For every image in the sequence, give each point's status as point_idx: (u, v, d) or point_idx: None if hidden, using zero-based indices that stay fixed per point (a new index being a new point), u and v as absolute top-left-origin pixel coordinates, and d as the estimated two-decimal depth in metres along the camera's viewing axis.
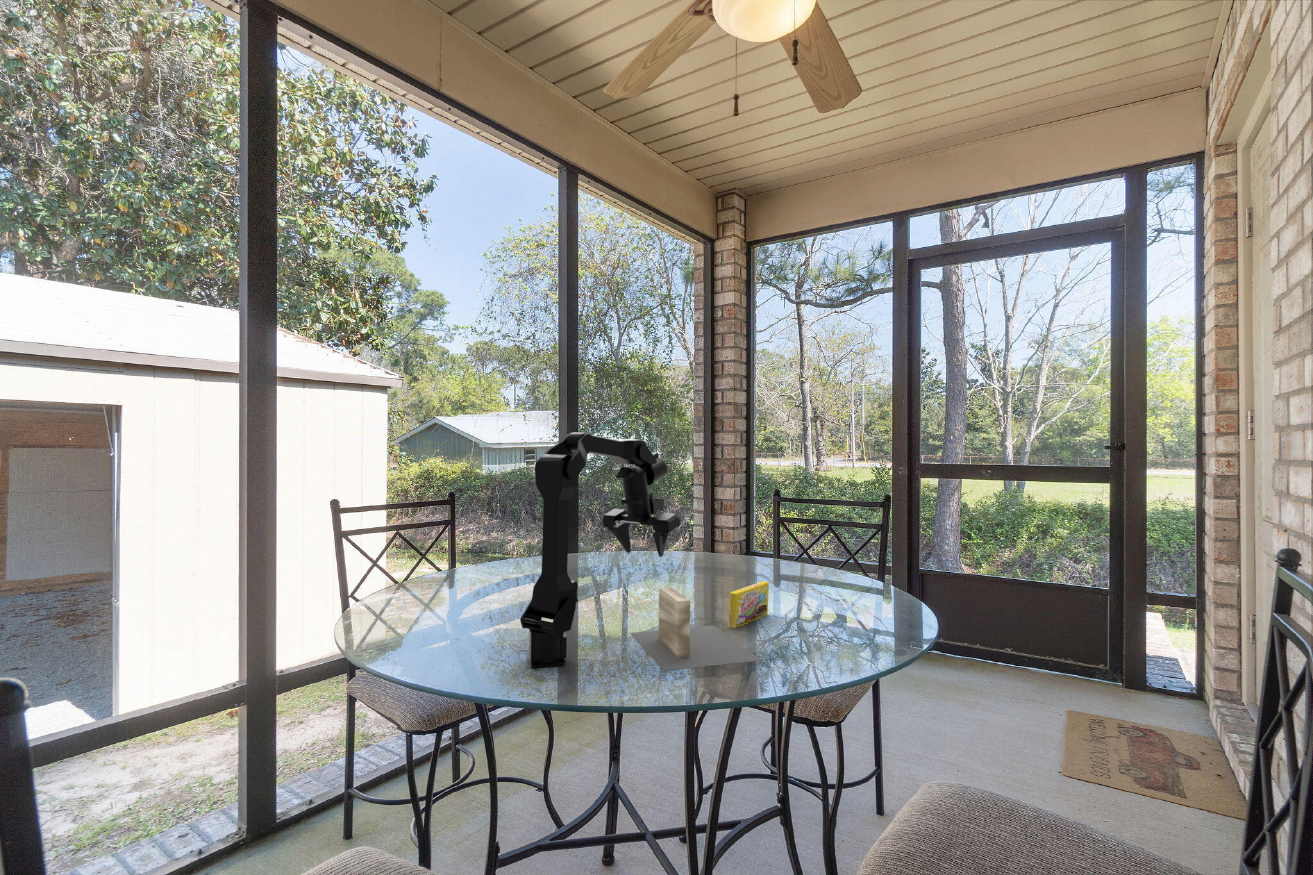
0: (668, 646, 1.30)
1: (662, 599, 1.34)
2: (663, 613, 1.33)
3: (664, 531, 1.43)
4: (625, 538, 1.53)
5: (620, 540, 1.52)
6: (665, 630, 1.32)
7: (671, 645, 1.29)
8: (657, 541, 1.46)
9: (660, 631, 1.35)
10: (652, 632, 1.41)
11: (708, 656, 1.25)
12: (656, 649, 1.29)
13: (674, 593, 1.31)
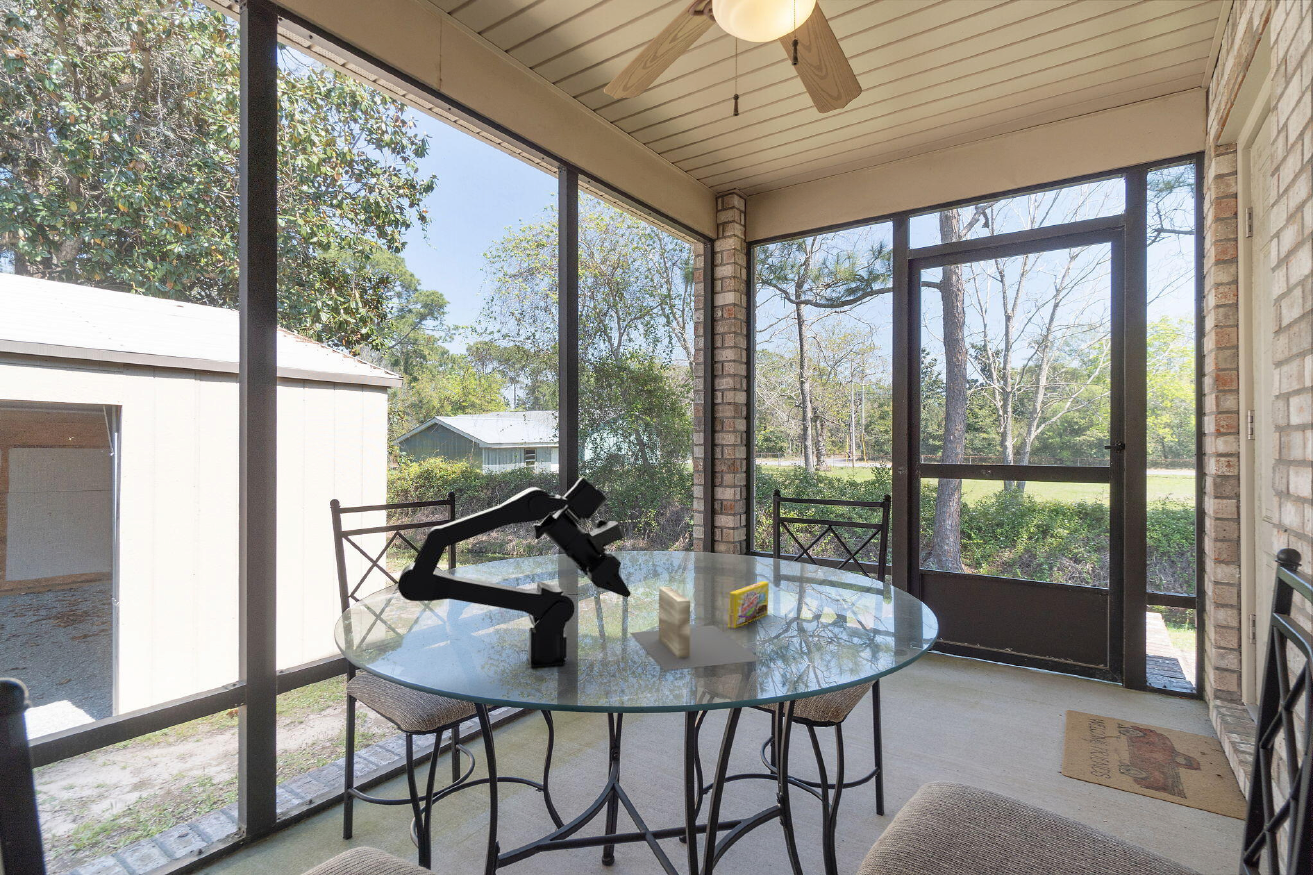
0: (668, 646, 1.30)
1: (662, 599, 1.34)
2: (663, 613, 1.33)
3: None
4: None
5: None
6: (665, 630, 1.32)
7: (671, 645, 1.29)
8: None
9: (660, 631, 1.35)
10: (652, 632, 1.41)
11: (708, 656, 1.25)
12: (656, 649, 1.29)
13: (674, 593, 1.31)
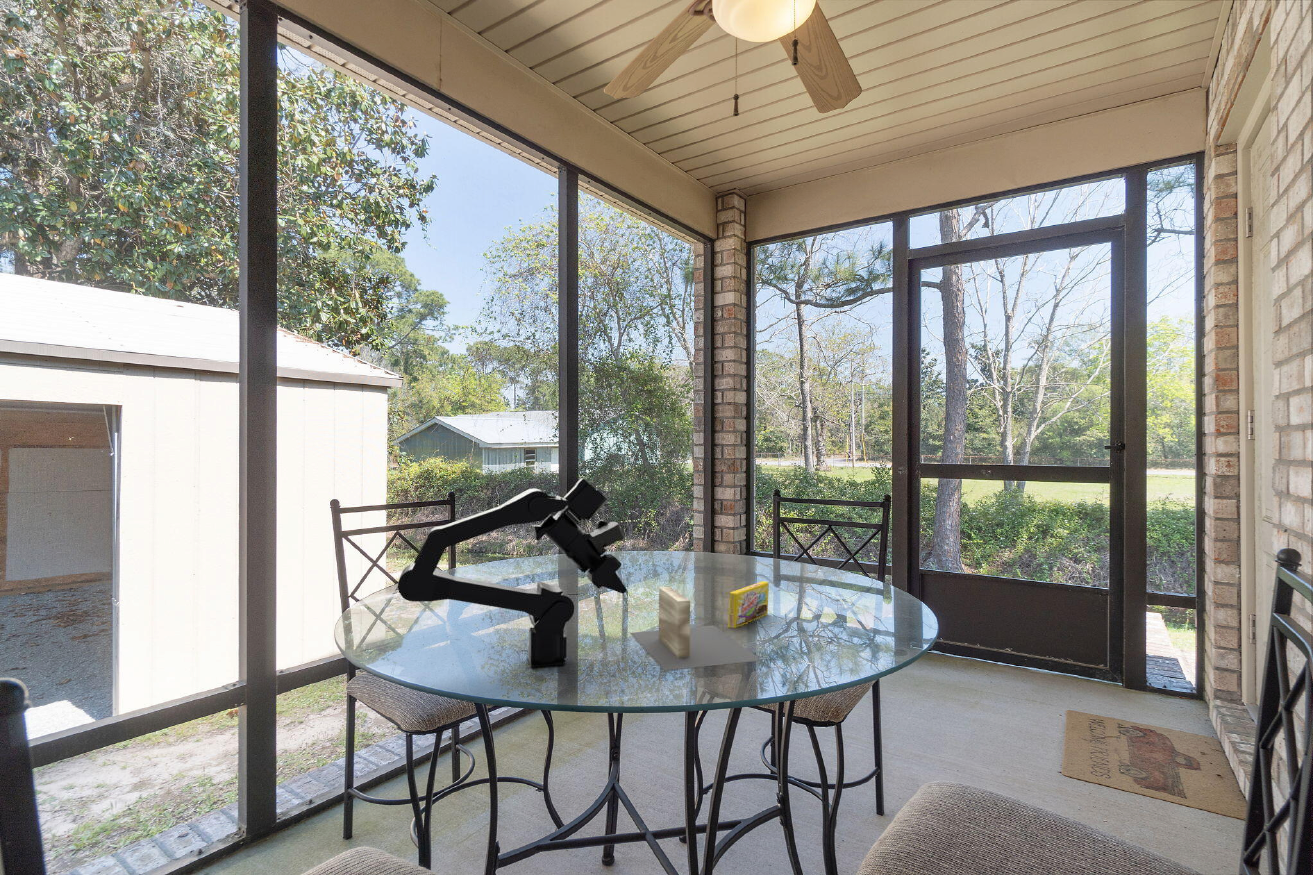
0: (668, 646, 1.30)
1: (662, 599, 1.34)
2: (663, 613, 1.33)
3: (596, 586, 1.17)
4: None
5: None
6: (665, 630, 1.32)
7: (671, 645, 1.29)
8: (602, 585, 1.25)
9: (660, 631, 1.35)
10: (652, 632, 1.41)
11: (708, 656, 1.25)
12: (656, 649, 1.29)
13: (674, 593, 1.31)
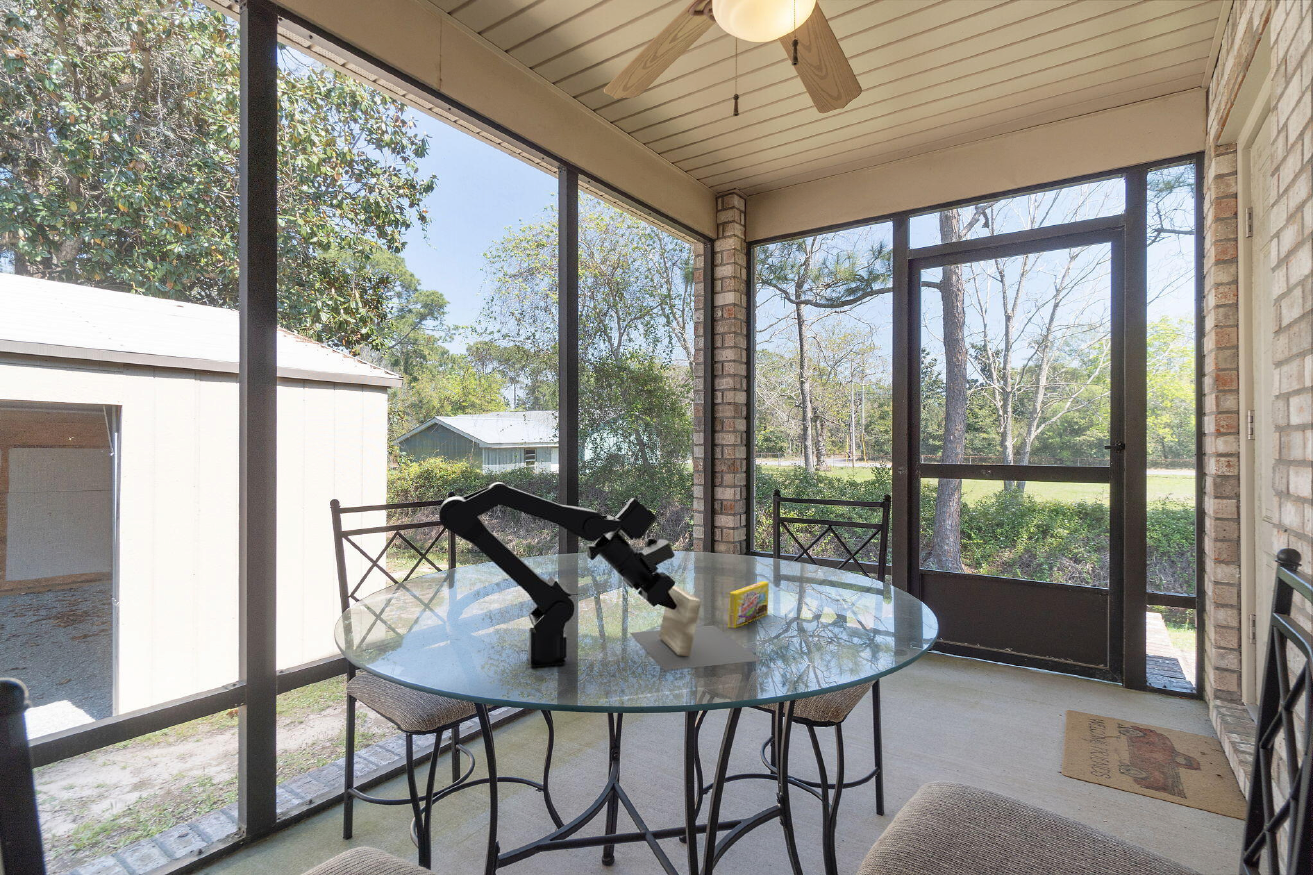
0: (669, 643, 1.30)
1: (671, 596, 1.34)
2: (669, 611, 1.34)
3: None
4: None
5: None
6: (668, 628, 1.32)
7: (672, 642, 1.29)
8: None
9: (662, 629, 1.35)
10: (652, 632, 1.41)
11: (708, 656, 1.25)
12: (656, 649, 1.29)
13: (685, 592, 1.32)
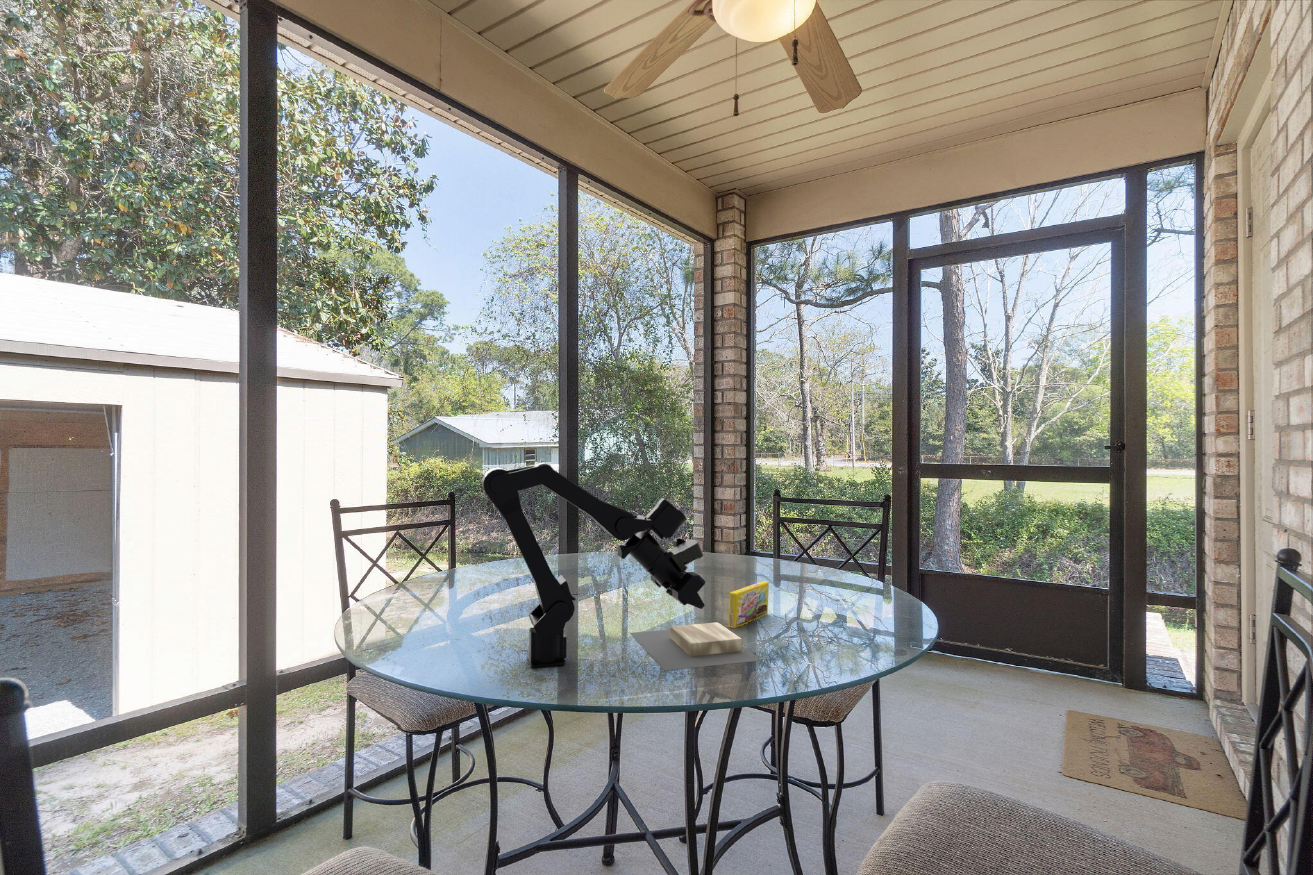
0: (682, 635, 1.31)
1: (714, 626, 1.37)
2: (702, 627, 1.36)
3: (682, 603, 1.22)
4: None
5: None
6: (690, 630, 1.34)
7: (688, 636, 1.30)
8: None
9: (680, 626, 1.37)
10: (652, 632, 1.41)
11: (708, 656, 1.25)
12: (656, 649, 1.29)
13: None
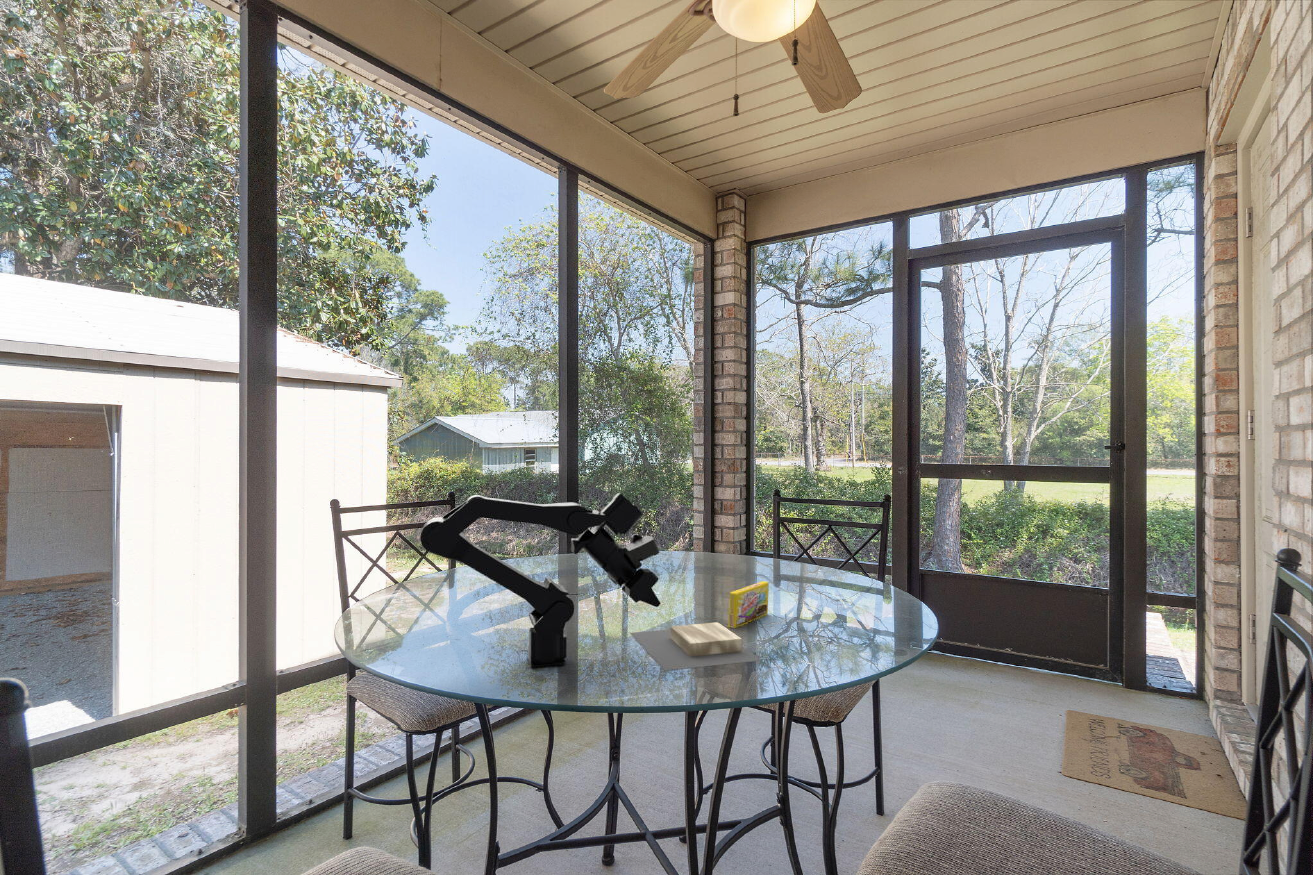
0: (682, 635, 1.31)
1: (714, 626, 1.37)
2: (702, 627, 1.36)
3: (634, 600, 1.19)
4: None
5: None
6: (690, 630, 1.34)
7: (688, 636, 1.30)
8: None
9: (680, 626, 1.37)
10: (652, 632, 1.41)
11: (708, 656, 1.25)
12: (656, 649, 1.29)
13: None
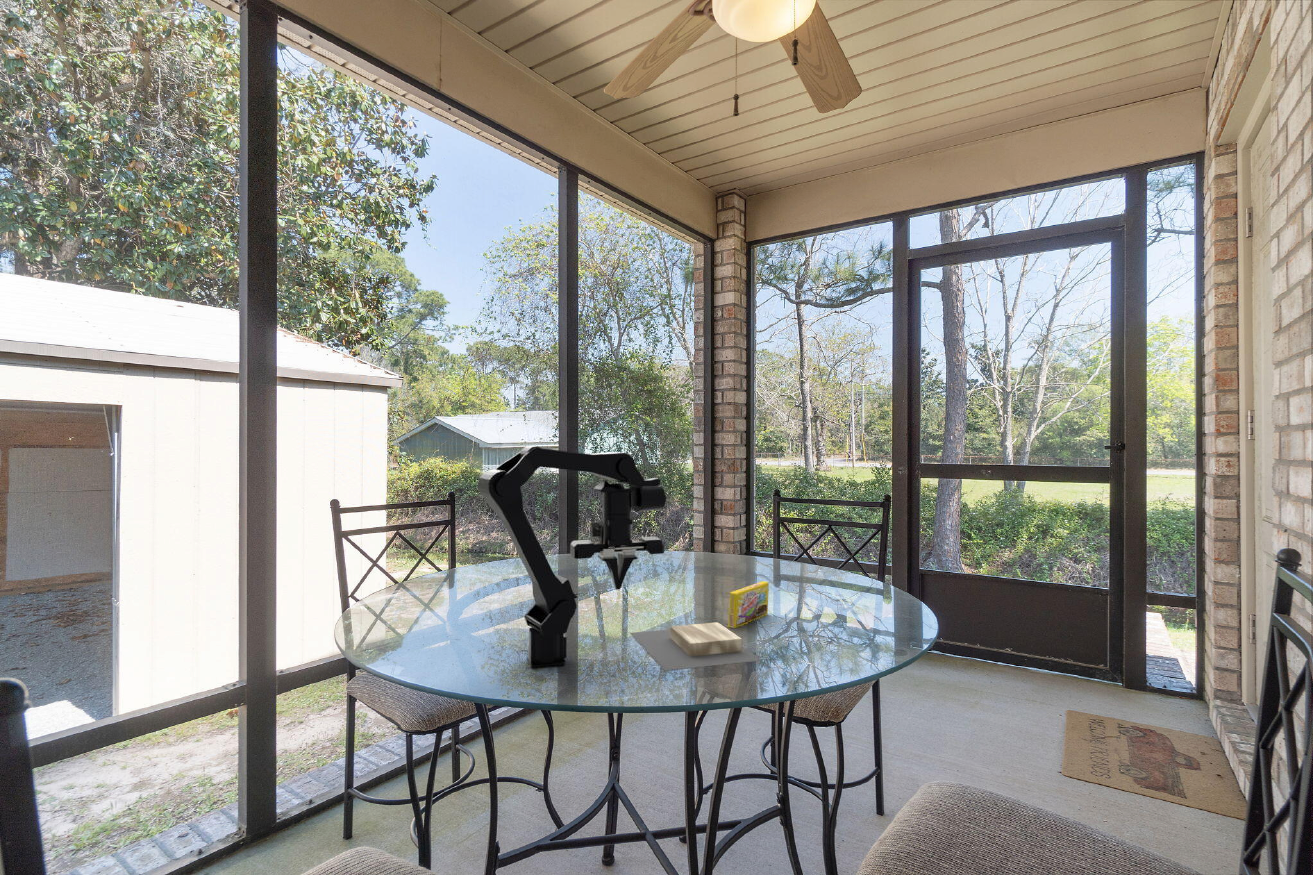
0: (682, 635, 1.31)
1: (714, 626, 1.37)
2: (702, 627, 1.36)
3: (661, 551, 1.31)
4: None
5: (615, 572, 1.29)
6: (690, 630, 1.34)
7: (688, 636, 1.30)
8: (626, 567, 1.29)
9: (680, 626, 1.37)
10: (652, 632, 1.41)
11: (708, 656, 1.25)
12: (656, 649, 1.29)
13: None
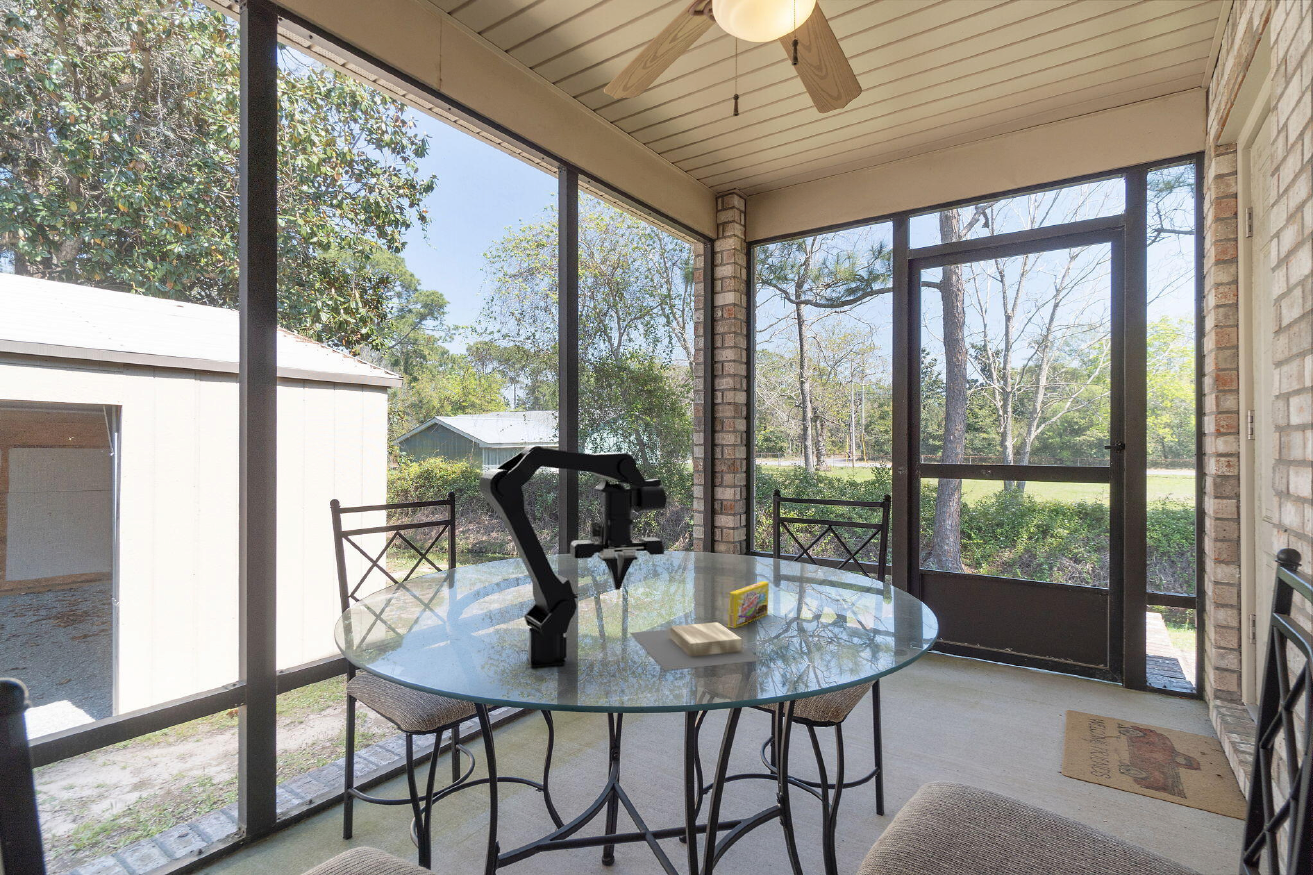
0: (682, 635, 1.31)
1: (714, 626, 1.37)
2: (702, 627, 1.36)
3: (661, 552, 1.31)
4: None
5: (615, 573, 1.29)
6: (690, 630, 1.34)
7: (688, 636, 1.30)
8: (626, 568, 1.30)
9: (680, 626, 1.37)
10: (652, 632, 1.41)
11: (708, 656, 1.25)
12: (656, 649, 1.29)
13: None
